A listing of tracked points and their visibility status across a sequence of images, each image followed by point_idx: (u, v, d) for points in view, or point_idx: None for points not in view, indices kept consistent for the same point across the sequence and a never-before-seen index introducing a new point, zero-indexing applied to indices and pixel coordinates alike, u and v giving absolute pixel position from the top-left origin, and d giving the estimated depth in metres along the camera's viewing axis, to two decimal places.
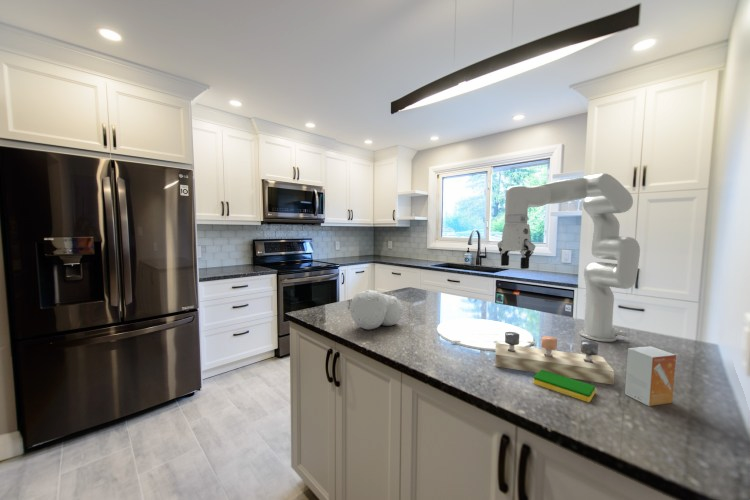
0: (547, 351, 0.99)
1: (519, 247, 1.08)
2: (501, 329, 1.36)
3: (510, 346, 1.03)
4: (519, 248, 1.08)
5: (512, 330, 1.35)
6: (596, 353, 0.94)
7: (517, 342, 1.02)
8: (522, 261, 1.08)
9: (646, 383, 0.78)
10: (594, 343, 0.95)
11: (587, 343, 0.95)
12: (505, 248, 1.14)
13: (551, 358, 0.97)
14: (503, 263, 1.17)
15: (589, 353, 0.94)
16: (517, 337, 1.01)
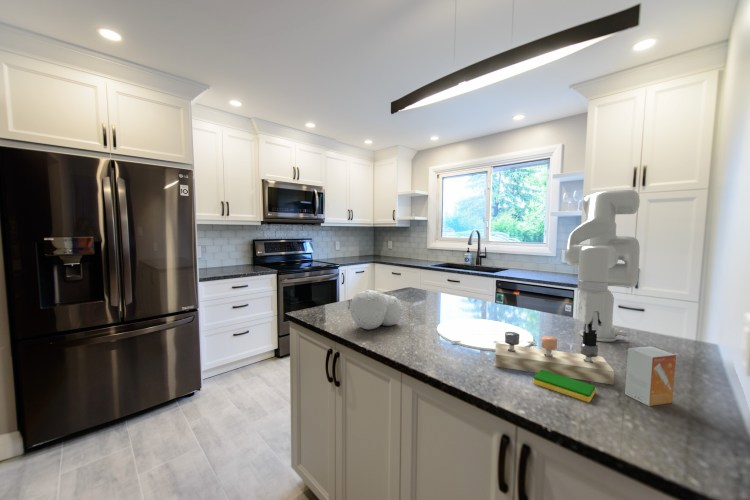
0: (547, 351, 0.99)
1: None
2: (501, 329, 1.36)
3: (510, 346, 1.03)
4: None
5: (512, 330, 1.35)
6: (596, 355, 0.94)
7: (517, 342, 1.02)
8: None
9: (646, 383, 0.78)
10: None
11: (587, 345, 0.95)
12: None
13: (551, 358, 0.97)
14: None
15: (589, 355, 0.94)
16: (517, 337, 1.01)
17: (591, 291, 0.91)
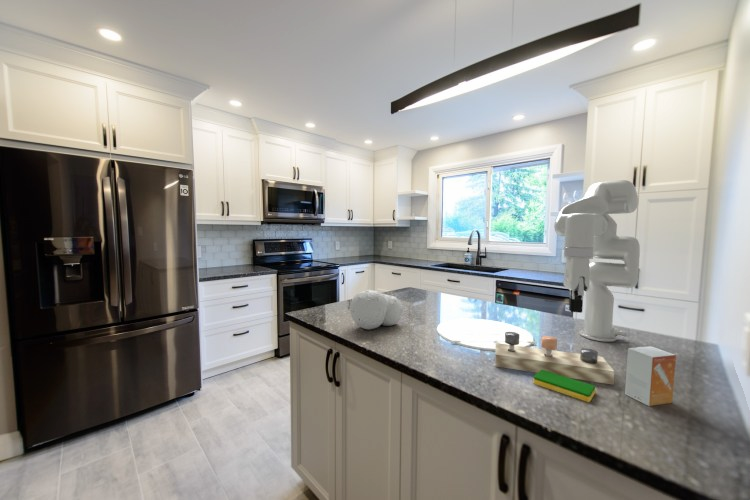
0: (547, 351, 0.99)
1: None
2: (501, 329, 1.36)
3: (510, 346, 1.03)
4: None
5: (512, 330, 1.35)
6: (596, 361, 0.94)
7: (517, 342, 1.02)
8: None
9: (646, 383, 0.78)
10: (594, 351, 0.95)
11: (587, 351, 0.95)
12: None
13: (551, 358, 0.97)
14: None
15: (589, 361, 0.94)
16: (517, 337, 1.01)
17: (577, 257, 0.92)
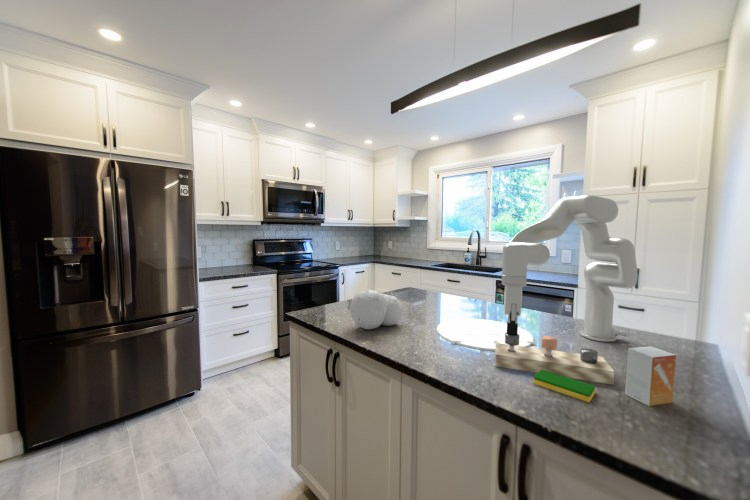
0: (547, 351, 0.99)
1: None
2: (501, 329, 1.36)
3: (510, 347, 1.03)
4: None
5: None
6: (596, 361, 0.94)
7: (517, 343, 1.02)
8: None
9: (646, 383, 0.78)
10: (594, 351, 0.95)
11: (587, 351, 0.95)
12: None
13: (551, 358, 0.97)
14: None
15: (589, 361, 0.94)
16: (517, 338, 1.01)
17: (510, 285, 0.99)
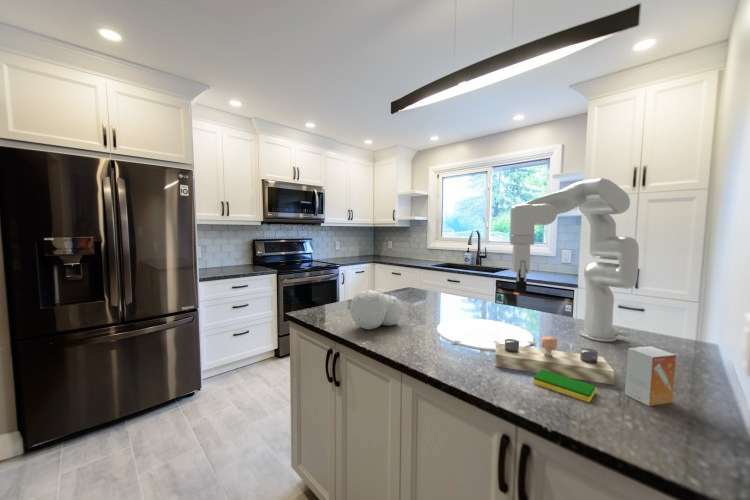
0: (547, 351, 0.99)
1: None
2: (501, 329, 1.36)
3: None
4: None
5: (512, 330, 1.35)
6: (596, 361, 0.94)
7: (517, 349, 1.02)
8: None
9: (646, 383, 0.78)
10: (594, 351, 0.95)
11: (587, 351, 0.95)
12: None
13: (551, 358, 0.97)
14: None
15: (589, 361, 0.94)
16: (517, 344, 1.02)
17: (519, 243, 1.03)
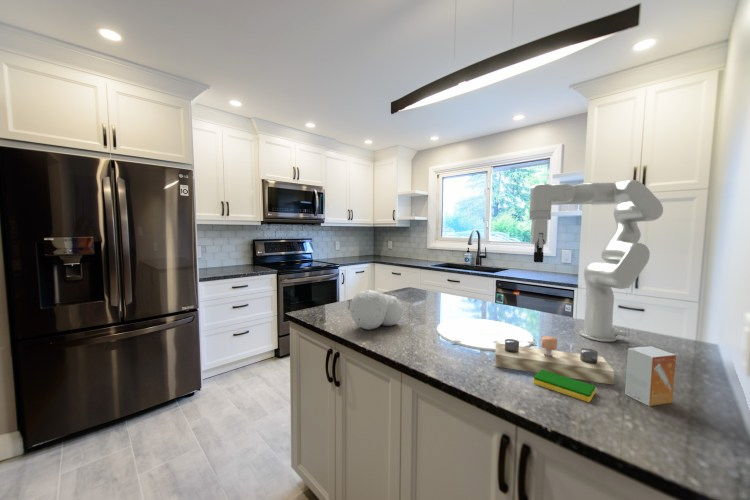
0: (547, 351, 0.99)
1: None
2: (501, 329, 1.36)
3: None
4: None
5: (512, 330, 1.35)
6: (596, 361, 0.94)
7: (517, 349, 1.02)
8: None
9: (646, 383, 0.78)
10: (594, 351, 0.95)
11: (587, 351, 0.95)
12: None
13: (551, 358, 0.97)
14: None
15: (589, 361, 0.94)
16: (517, 344, 1.02)
17: (538, 218, 1.18)
